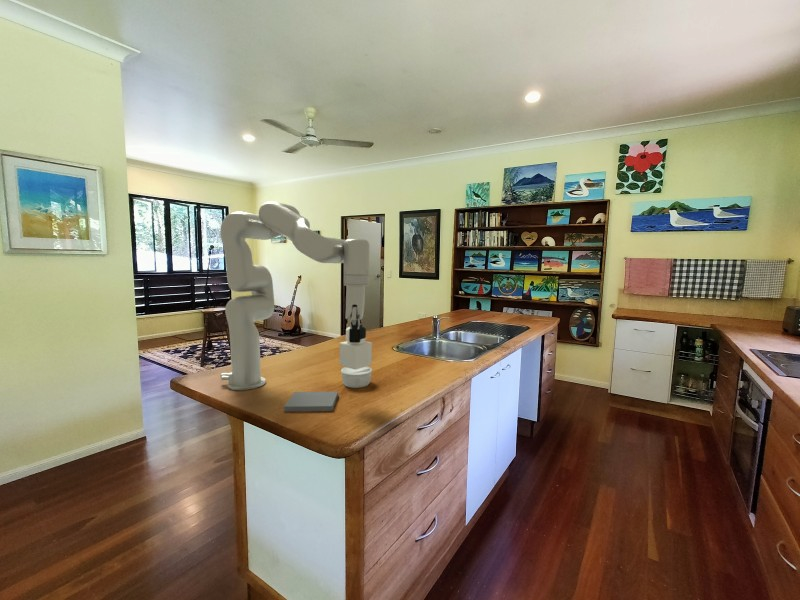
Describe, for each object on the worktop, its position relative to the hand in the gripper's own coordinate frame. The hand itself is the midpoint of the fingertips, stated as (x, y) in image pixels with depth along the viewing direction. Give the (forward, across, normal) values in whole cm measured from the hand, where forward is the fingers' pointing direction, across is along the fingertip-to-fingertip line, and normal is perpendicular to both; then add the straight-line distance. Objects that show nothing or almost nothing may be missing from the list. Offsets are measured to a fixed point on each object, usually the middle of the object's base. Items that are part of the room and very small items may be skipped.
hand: (355, 339), depth 109 cm
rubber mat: (+20, 0, -13) cm, 24 cm away
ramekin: (+21, -18, -1) cm, 27 cm away
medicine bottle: (+8, 0, 0) cm, 8 cm away
